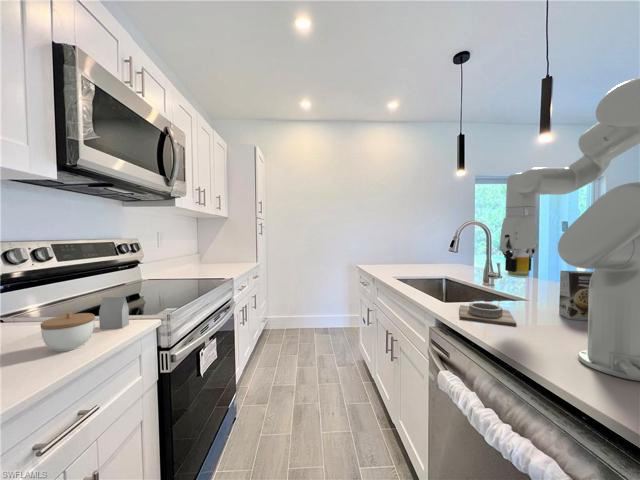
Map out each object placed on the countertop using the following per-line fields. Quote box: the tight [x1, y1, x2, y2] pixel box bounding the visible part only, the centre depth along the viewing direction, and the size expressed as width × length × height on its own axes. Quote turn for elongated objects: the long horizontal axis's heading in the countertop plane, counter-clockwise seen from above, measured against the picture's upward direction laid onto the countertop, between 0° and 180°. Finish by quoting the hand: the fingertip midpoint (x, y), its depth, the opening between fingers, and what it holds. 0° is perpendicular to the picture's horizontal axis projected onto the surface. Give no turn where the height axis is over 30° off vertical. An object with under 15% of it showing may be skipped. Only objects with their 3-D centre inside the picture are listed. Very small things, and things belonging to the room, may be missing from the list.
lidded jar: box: [40, 311, 96, 353], centre depth 73 cm, size 11×11×9 cm
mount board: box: [459, 302, 517, 327], centre depth 97 cm, size 16×16×4 cm
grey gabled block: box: [98, 296, 130, 330], centre depth 89 cm, size 4×7×10 cm, turn 97°
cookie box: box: [558, 270, 594, 321], centre depth 94 cm, size 9×6×16 cm
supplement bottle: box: [507, 247, 530, 279], centre depth 85 cm, size 5×5×10 cm
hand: (517, 270), depth 86 cm, fingers closed on supplement bottle, 5 cm apart
